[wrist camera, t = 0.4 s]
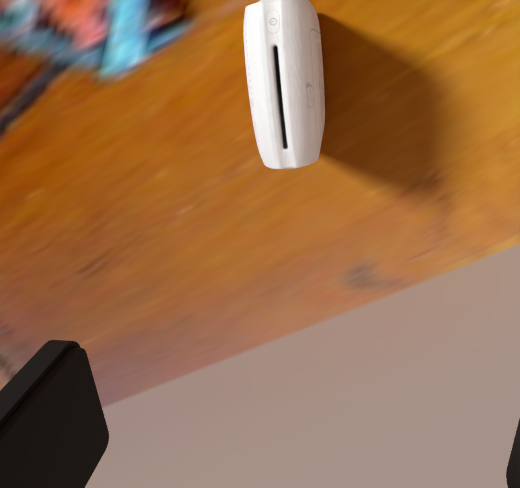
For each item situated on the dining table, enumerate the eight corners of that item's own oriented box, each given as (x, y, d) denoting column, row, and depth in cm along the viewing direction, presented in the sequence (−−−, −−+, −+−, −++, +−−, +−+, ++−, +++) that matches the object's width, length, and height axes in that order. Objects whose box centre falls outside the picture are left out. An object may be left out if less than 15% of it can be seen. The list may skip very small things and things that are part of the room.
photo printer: (263, 8, 34) (227, -6, 23) (319, -1, 33) (310, -19, 22) (277, 142, 38) (252, 185, 27) (327, 137, 37) (323, 180, 26)
